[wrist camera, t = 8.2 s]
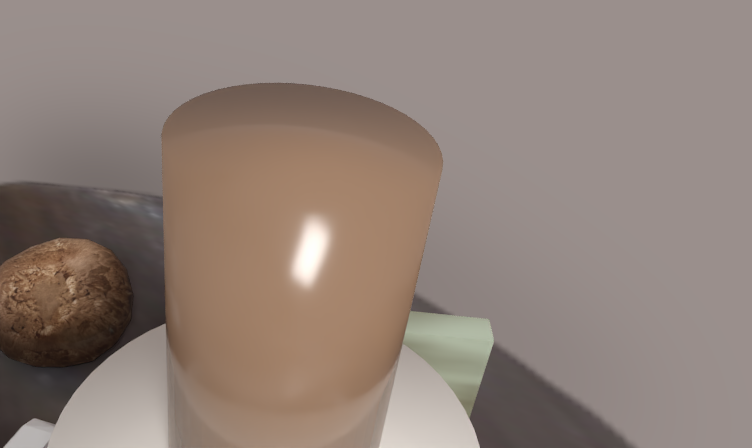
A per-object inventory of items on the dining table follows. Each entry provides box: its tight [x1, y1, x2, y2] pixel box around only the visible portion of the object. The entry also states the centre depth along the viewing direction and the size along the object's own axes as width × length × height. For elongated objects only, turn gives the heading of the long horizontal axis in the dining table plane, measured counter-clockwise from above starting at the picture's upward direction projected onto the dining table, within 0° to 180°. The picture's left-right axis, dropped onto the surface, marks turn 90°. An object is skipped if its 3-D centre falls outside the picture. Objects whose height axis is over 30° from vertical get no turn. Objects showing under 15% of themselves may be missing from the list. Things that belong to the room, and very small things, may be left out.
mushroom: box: [0, 238, 133, 367], centre depth 41 cm, size 8×8×6 cm
